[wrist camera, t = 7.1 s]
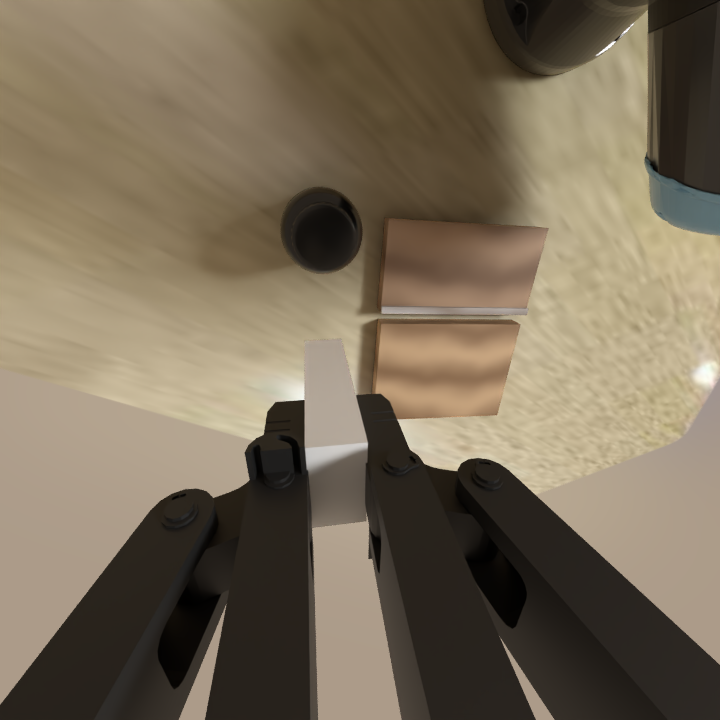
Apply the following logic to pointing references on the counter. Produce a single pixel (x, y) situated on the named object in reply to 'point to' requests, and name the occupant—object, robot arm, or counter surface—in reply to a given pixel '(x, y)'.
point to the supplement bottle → (321, 230)
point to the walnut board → (457, 267)
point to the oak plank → (443, 365)
